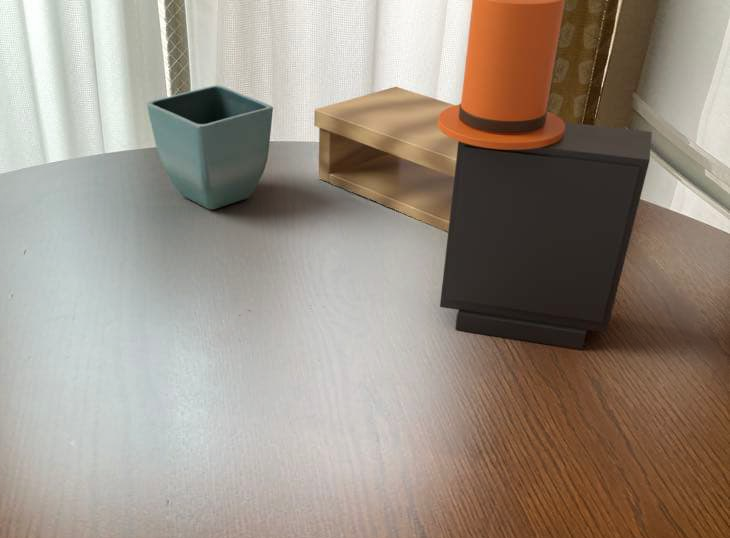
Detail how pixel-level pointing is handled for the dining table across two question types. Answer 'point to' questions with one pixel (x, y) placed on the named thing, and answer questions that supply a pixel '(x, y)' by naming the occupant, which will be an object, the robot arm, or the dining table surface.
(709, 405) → the dining table surface
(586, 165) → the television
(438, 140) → the stand
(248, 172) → the flower pot
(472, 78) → the hat
